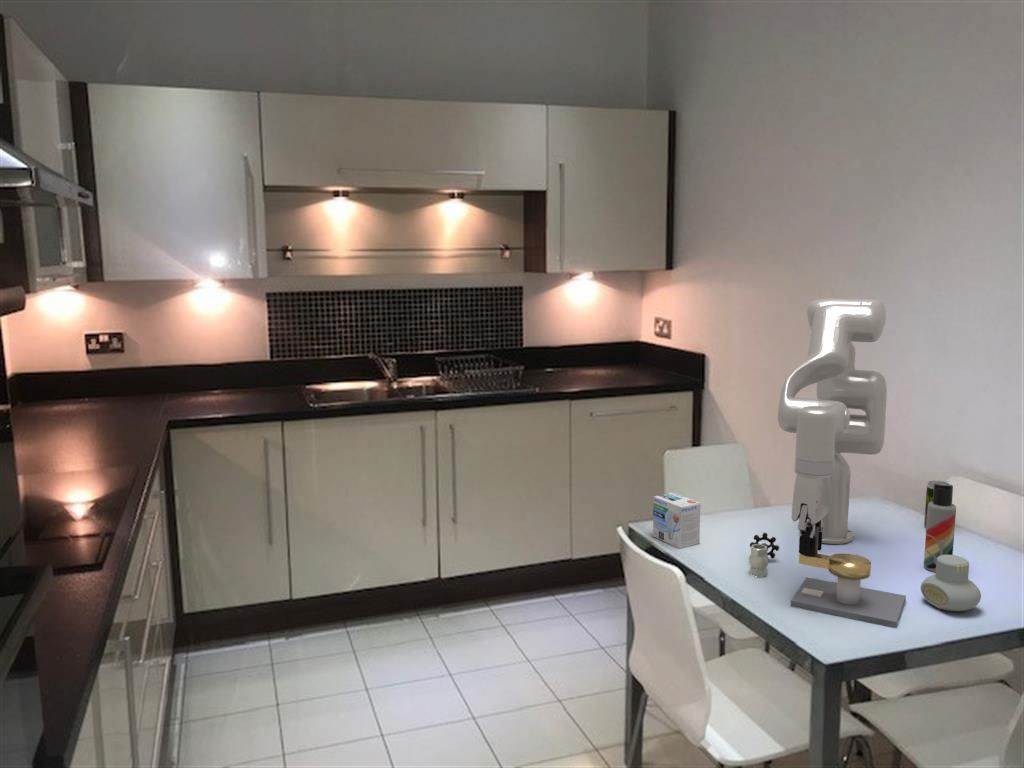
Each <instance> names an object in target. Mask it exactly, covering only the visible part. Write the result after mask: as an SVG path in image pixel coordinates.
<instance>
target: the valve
mask: <svg viewBox="0 0 1024 768" xmlns="http://www.w3.org/2000/svg"><path fill="white" fill-rule="evenodd" d="M761 536H762V537H761ZM761 536H759V535H758V534H754V536H753V540H755V542H753V541H752V542H750V543H749V547H750V554H749V558H748V563H749V566H750V569H749V575H750V574H752V575H751V576H753V575H754V576H753V577H755V576H757V577H756V578H762V577H761V576H765V575H767V567H768V565H769V557H768V556H770V558H771V559H775V557H776V553H775V552H774V551H776V552H778V551H779V550H780V546H779V545H777V544H776V545H775V542H776V540H777V538H776V537H775V536H772V537H771V538H769V537H768V533H767V532H763V533H762V535H761ZM761 541H766V542H768V543H769V544H768V543H766V542H763V543H761V544H760V543H759V542H761ZM770 548H771V550H769V549H770ZM765 577H766V576H765Z"/></svg>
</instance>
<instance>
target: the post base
mask: <svg viewBox="0 0 1024 768" xmlns="http://www.w3.org/2000/svg"><path fill="white" fill-rule="evenodd" d="M836 577H837V576H836ZM836 580H837V581H836V582H834V581H830V580H825V579H824V580H823V579H819V578H813V577H808V576H806V577H805V578H804V579H803V582H802V583H801V585H800V586H799V588H798V589H797V591H796V592H795V594H794V595H793V597H792V598H791V599H790V607H793V608H797V609H802V610H807V611H813V612H816V613H822V614H827V615H832V616H837V617H842V618H847V619H851V620H856V621H861V622H866V623H871V624H875V625H880V626H886V627H890V628H895V629H896V628H897V626H898V623H899V620H900V618H901V616H902V613H903V609H904V607H905V603H906V599H907V596H906V594H905V595H904V594H900V593H899V594H898V593H895V592H889V591H883V590H879V589H873V588H866V587H863V586H862V587H861V579H860V580H852V579H844V578H840V577H837V579H836Z"/></svg>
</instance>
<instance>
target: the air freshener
mask: <svg viewBox="0 0 1024 768" xmlns="http://www.w3.org/2000/svg"><path fill="white" fill-rule="evenodd" d="M969 569H970V561H969V560H967V558H964V557H962V556H959V555H954V554H953V555H941V556H939V557H938V558H937V562H936V572H935V573H934V574H932V575H929V576H927V577H925V579H924V580H923V581H922V582H921V585H920V593H921V594H922V596H923V597H924V599H925V600H926V601H927V602H928V603H929V604H931V605H933V606H934V607H935V608H937V609H939V610H942V611H947V612H964V611H969V610H971V609H973V608H975V607H977V606H978V605H979V604H980V602H981V599H982V594H981V590H980V588H979V587H978V586H977V585H976V583H974V582H973V581H971V579H969V571H970V570H969Z"/></svg>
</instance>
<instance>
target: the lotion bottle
mask: <svg viewBox="0 0 1024 768" xmlns="http://www.w3.org/2000/svg"><path fill="white" fill-rule="evenodd" d="M953 495H954V485H952V484H950V485H946V484H934V490H933V502H929V503H928V510H927V524H926V527H925V539H924V540H925V542H924V552H923V553H924V554H923V555H924V556H923V567H924V568H925V570H927V571H929V572H932V573H936V562H937V558H938V557H939V556H941V555H954V553H953V552H954V541H955V529H956V516H957V507H956V505H955V504H953Z"/></svg>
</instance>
